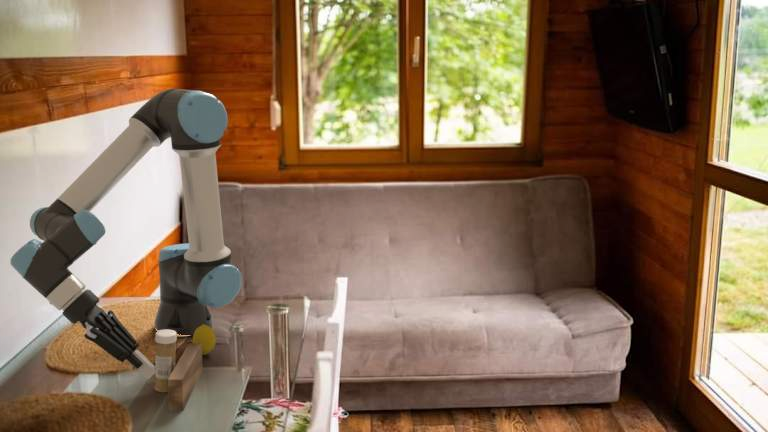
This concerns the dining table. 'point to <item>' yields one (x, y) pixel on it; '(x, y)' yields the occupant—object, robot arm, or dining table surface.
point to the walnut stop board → (185, 376)
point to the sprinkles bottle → (164, 358)
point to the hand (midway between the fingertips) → (152, 374)
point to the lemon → (205, 338)
